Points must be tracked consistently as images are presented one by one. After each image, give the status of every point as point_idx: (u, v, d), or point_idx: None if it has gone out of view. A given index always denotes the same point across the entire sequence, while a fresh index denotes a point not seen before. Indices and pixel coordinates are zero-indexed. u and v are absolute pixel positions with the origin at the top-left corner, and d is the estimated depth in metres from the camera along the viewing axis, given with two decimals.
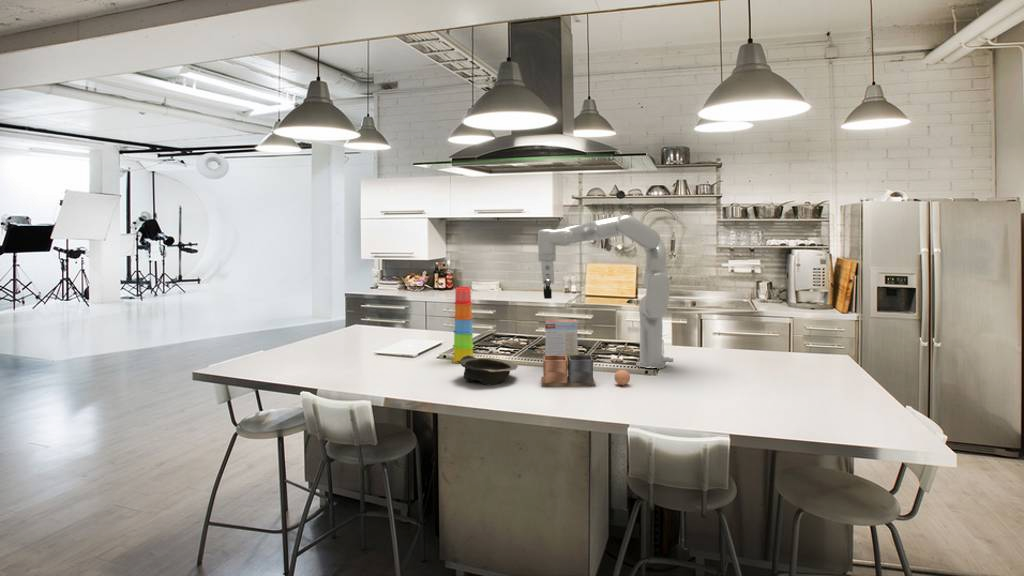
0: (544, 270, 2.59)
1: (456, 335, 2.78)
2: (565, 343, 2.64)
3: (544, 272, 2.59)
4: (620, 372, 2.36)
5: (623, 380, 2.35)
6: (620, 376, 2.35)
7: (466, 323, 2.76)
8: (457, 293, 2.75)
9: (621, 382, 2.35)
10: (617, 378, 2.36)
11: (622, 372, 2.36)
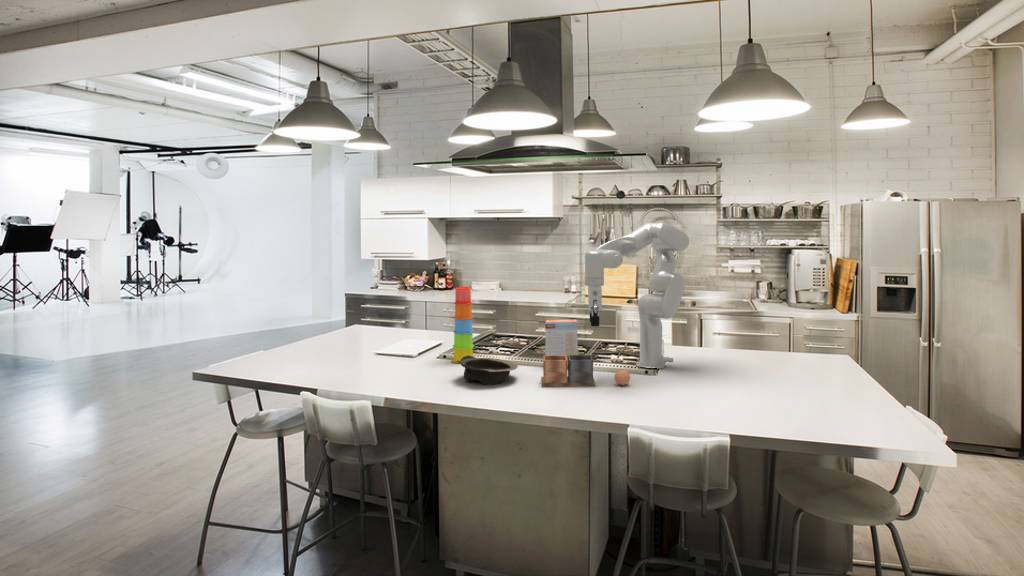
0: (591, 295, 2.40)
1: (456, 335, 2.78)
2: (566, 343, 2.64)
3: (591, 298, 2.40)
4: (620, 372, 2.36)
5: (623, 380, 2.35)
6: (620, 376, 2.35)
7: (466, 323, 2.76)
8: (457, 293, 2.75)
9: (621, 382, 2.35)
10: (617, 378, 2.36)
11: (622, 372, 2.36)
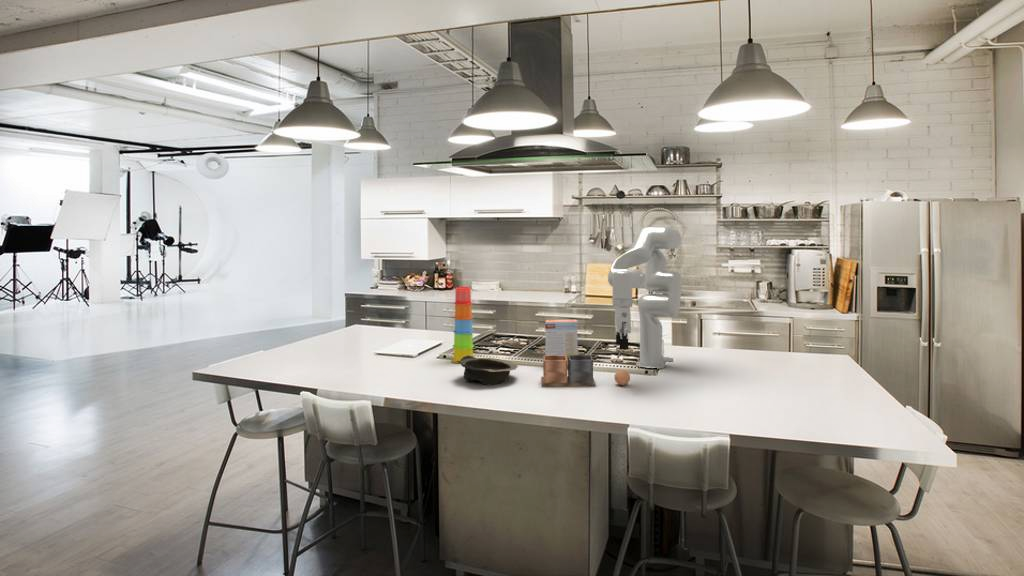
0: (620, 317, 2.30)
1: (456, 335, 2.78)
2: (565, 343, 2.64)
3: (620, 319, 2.30)
4: (620, 372, 2.36)
5: (623, 380, 2.35)
6: (620, 376, 2.35)
7: (466, 323, 2.76)
8: (457, 293, 2.75)
9: (621, 382, 2.35)
10: (617, 378, 2.36)
11: (622, 372, 2.36)
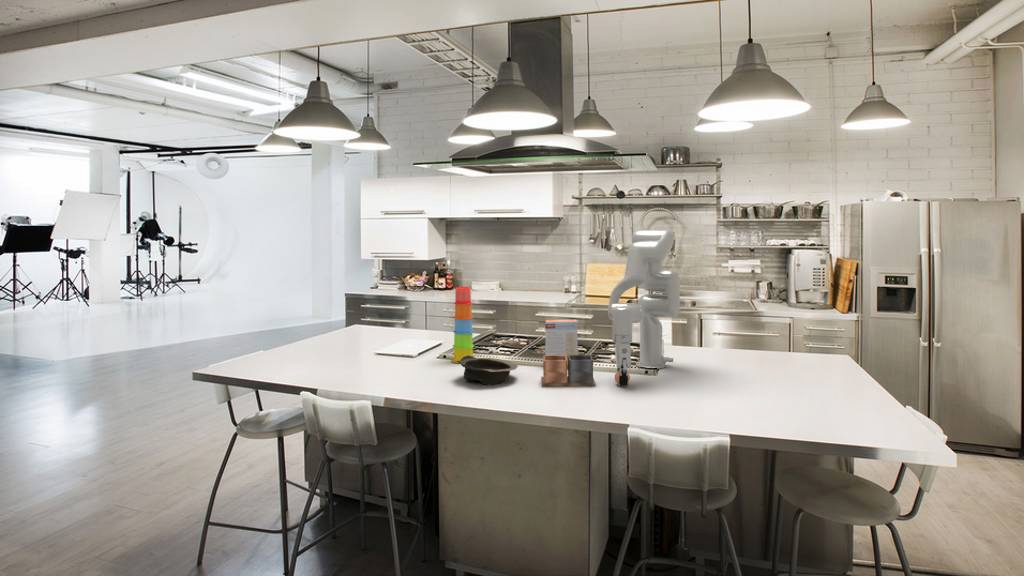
0: (620, 353, 2.32)
1: (456, 335, 2.78)
2: (565, 343, 2.64)
3: (620, 355, 2.32)
4: None
5: None
6: None
7: (466, 323, 2.76)
8: (457, 293, 2.75)
9: None
10: (617, 378, 2.36)
11: None
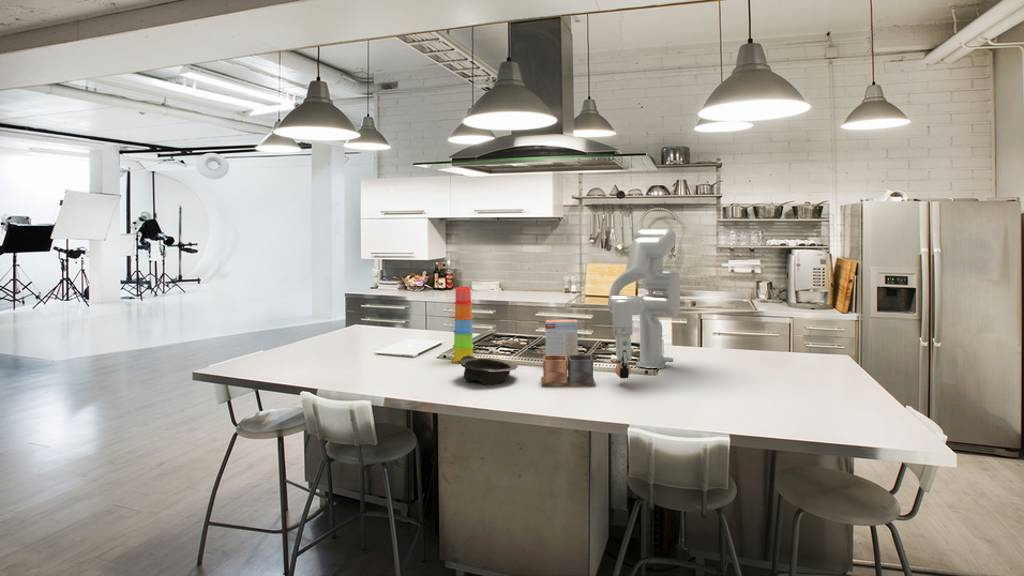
0: (621, 346, 2.32)
1: (456, 335, 2.78)
2: (565, 343, 2.64)
3: (621, 348, 2.32)
4: None
5: None
6: None
7: (466, 323, 2.76)
8: (457, 293, 2.75)
9: None
10: (618, 370, 2.36)
11: None
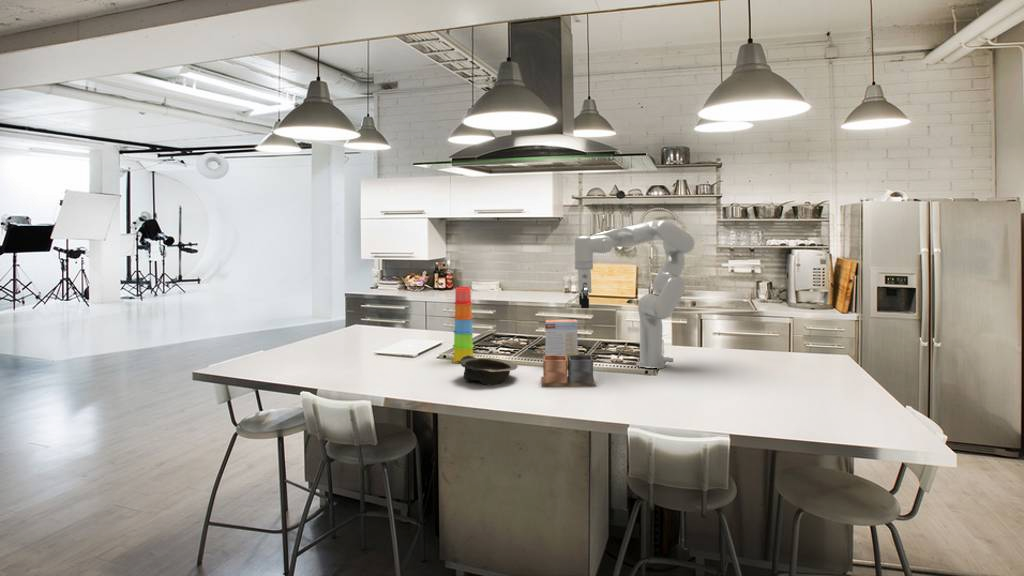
0: (581, 279, 2.49)
1: (456, 335, 2.78)
2: (565, 343, 2.64)
3: (581, 281, 2.49)
4: None
5: None
6: None
7: (466, 323, 2.76)
8: (457, 293, 2.75)
9: None
10: None
11: None
